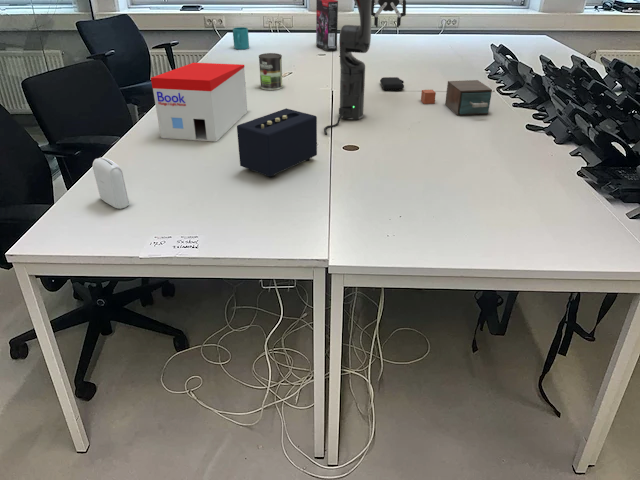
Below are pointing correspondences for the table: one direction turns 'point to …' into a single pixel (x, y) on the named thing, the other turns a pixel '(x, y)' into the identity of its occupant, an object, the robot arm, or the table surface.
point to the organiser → (461, 87)
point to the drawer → (475, 102)
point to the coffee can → (270, 71)
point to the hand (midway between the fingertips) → (387, 27)
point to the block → (428, 96)
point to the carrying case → (392, 83)
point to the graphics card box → (326, 24)
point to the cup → (240, 38)
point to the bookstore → (199, 100)
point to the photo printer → (110, 182)
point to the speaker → (277, 141)
